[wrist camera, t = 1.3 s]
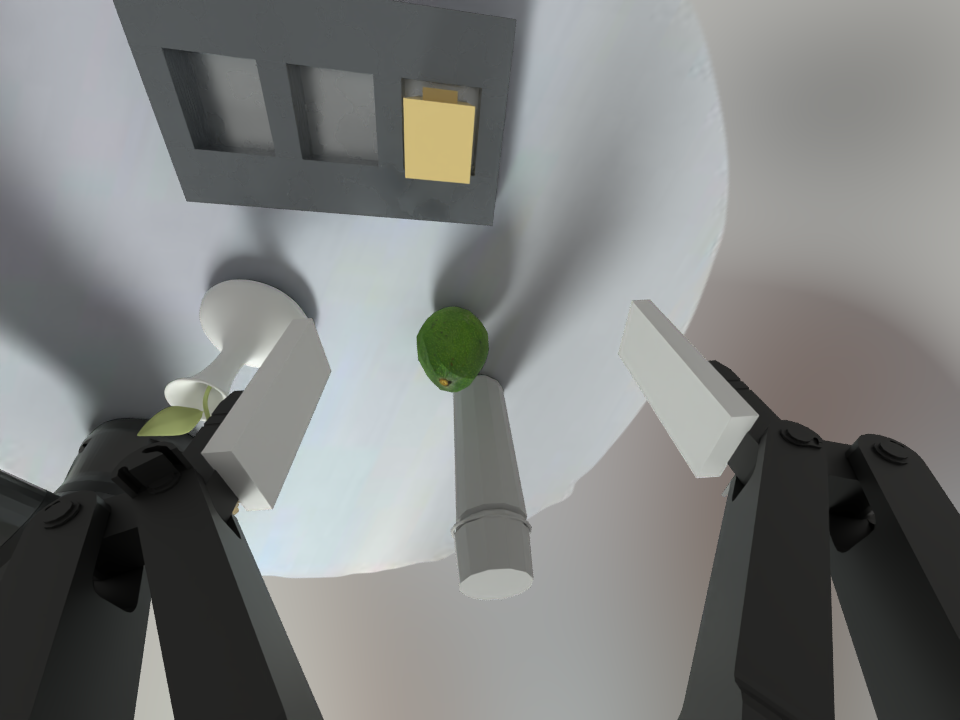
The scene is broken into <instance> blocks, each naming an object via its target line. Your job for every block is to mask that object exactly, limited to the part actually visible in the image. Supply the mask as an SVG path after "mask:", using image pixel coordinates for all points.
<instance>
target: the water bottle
mask: <svg viewBox="0 0 960 720" xmlns="http://www.w3.org/2000/svg"><path fill="white" fill-rule="evenodd" d="M453 404H454V448H455V492H456V524H454V526H453V528H452V529H451V534H452V537H453V538H454V539H455V542H454V543H455V552H456V561H457V570H458V579H459V588H460V592H461V593H463V594H464V595H466V596H467V597H469V598H474V599H480V600H497V599H505V598H509V597H512V596H515V595H519V594H521V593H522V592H524V591H526V590H527V589H529V588H530V587H531V585H532V581H533V569H532V559H531V547H530V536H529V535H530V534H531V528H532V527H531V525H530V524H529V523H528V521H526V518H527V514H526V509H525V504H524V498H523V493H522V488H521V482H520V477H519V472H518V467H517V461H516V456H515V451H514V445H513V440H512V435H511V430H510V424H509V419H508V414H507V409H506V403H505V398H504V393H503V389H502V387H501V386H500V384H499V383H498V381H497V380H495V379H492V378H490V377H488V376H486V375H477V376H476V378H475V379H474V381H473V382H472V383H471V385H470V386H468V387H467V388H465V389H463V390H461V391H459V392H453ZM455 529H456V533H454V531H455Z"/></svg>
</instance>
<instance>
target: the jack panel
mask: <svg viewBox="0 0 960 720" xmlns="http://www.w3.org/2000/svg"><path fill="white" fill-rule="evenodd" d="M113 2H114V5H115V8H116V10H117V13H118V16H119V18H120V21H121V24H122V27H123V29H124V32H125V35H126V37H127V40H128V43H129V46H130V48H131V51H132V54H133V57H134V59H135V62H136V65H137V67H138V70H139V73H140V76H141V78H142V81H143V84H144V86H145V89H146V92H147V95H148V97H149V100H150V103H151V106H152V108H153V111H154V114H155V116H156V119H157V122H158V125H159V127H160V130H161V133H162V135H163V138H164V141H165V144H166V146H167V149H168V152H169V154H170V157H171V160H172V163H173V165H174V168H175V171H176V174H177V176H178V179H179V182H180V184H181V187H182V190H183V193H184V195H185V198H186V201H189V202H201V203H214V204H226V205H239V206H251V207H264V208H276V209H289V210H301V211H314V212H326V213H339V214H351V215H364V216H376V217H389V218H401V219H414V220H426V221H439V222H451V223H464V224H476V225H489V226H492V224H493V216H494V207H495V199H496V190H497V182H498V173H499V164H500V156H501V147H502V139H503V130H504V122H505V113H506V104H507V96H508V87H509V79H510V70H511V62H512V53H513V44H514V36H515V27H516V19H510V18H503V17H497V16H490V15H484V14H477V13H470V12H464V11H457V10H451V9H444V8H437V7H431V6H424V5H417V4H411V3H404V2H398V1H391V0H113ZM423 87H428V88H436V89H444V90H452V91H458V98H457V101H463V102H467V103H469V104H471V105H473V106H475V117H474V130H473V144H472V157H471V171H470V184H465V183H455V182H444V181H433V180H423V179H412V178H405V148H404V106H403V98H407V97H414V96H422V97H423Z"/></svg>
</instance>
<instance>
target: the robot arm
mask: <svg viewBox="0 0 960 720" xmlns="http://www.w3.org/2000/svg"><path fill="white" fill-rule="evenodd" d="M618 355H619V356H620V358H621V360H622V361H623V363H624V364H625V366H626V367H627V369H628V371H629V372H630V374H631V375H632V377H633V379H634V380H635V382H636V383H637V385H638V386H639V388H640V390H641V391H642V393H643V394H644V396H645V398H646V399H647V401H648V402H649V404H650V405H651V407H652V409H653V410H654V412H655V413H656V415H657V417H658V418H659V419H660V421H661V423H662V424H663V426H664V428H665V429H666V431H667V432H668V434H669V435H670V437H671V438H672V440H673V442H674V443H675V445H676V447H677V448H678V450H679V451H680V453H681V455H682V456H683V458H684V459H685V461H686V463H687V464H688V466H689V467H690V469H691V470H692V472H693V474H694V475H695V477H696V478H704V477H718V476H721V474H722V472H723V471H724V469H725V468H726V466H727V465H729V466H730V468H731V469H732V470H733V472H734V473H735V476H734V477H733V478H732V480H731V482H730V483H729V484H728V486H727V487H726V489H725V490H724V492H723V493H722V496H724V497H726V495H727V494H728V497H727V502H726V507H725V511H724V516H723V521H722V526H721V530H720V535H719V540H718V545H717V549H716V554H715V559H714V563H713V568H712V573H711V577H710V582H709V587H708V591H707V596H706V601H705V606H704V611H703V615H702V620H701V624H700V629H699V634H698V639H697V643H696V648H695V653H694V657H693V662H692V667H691V672H690V676H689V681H688V686H687V690H686V695H685V700H684V704H683V708H682V711H681V713H680V716H679V718H678V720H835V714H834V678H833V642H832V607H831V577H832V580H833V583H834V586H835V589H836V592H837V596H838V599H839V602H840V605H841V608H842V611H843V614H844V617H845V620H846V623H847V626H848V629H849V632H850V635H851V638H852V641H853V644H854V648H855V650H856V654H857V657H858V660H859V663H860V666H861V669H862V672H863V675H864V678H865V681H866V684H867V687H868V690H869V693H870V696H871V699H872V702H873V706H874V709H875V712H876V715H877V718H878V720H960V514H959V513H958V512H957V510H956V508H955V507H954V505H953V504H952V502H951V501H950V499H949V498H948V496H947V495H946V493H945V492H944V490H943V489H942V487H941V486H940V484H939V483H938V481H937V480H936V478H935V477H934V475H933V474H932V473H931V471H930V470H929V468H928V466H926V464H925V462H924V461H923V460H922V459H921V457H920V456H919V455H918V454H917V453H916V452H914V451H913V450H911V449H910V448H908V447H907V446H906V445H904V444H902V443H900V442H897V441H896V440H893V439H891V438H887V437H884V436H881V435H875V434H865V435H861V436H860V437H859V438H858V439H857V440H856V441H855V442H854V443H853V444H852V445H848V444H841V443H836V442H830V441H824V440H822V438H821V437H820V436H819V435H818V434H817V433H815V432H814V431H812V430H810V429H809V428H808V427H805V426H803V425H801V424H799V423H795V422H792V421H788V420H781V419H780V418H779V417H778V416H776V414H774V412H772V410H771V409H770V408H769V407H768V406H767V405H766V404H765V403H764V402H763V401H762V400H761V399H759V397H758V396H757V395H756V394H754V392H753V391H752V390H749V387H748V386H747V385H746V384H744V382H742V381H740V378H739V377H737V375H736V374H735V373H734V372H732V370H731V369H729V368H728V367H726V366H724V365H722V364H720V363H719V362H717V361H716V360H714V361H707V360H706V359H705V357H704V356H702V354H701V353H700V352H699V351H698V350H697V349H696V348H695V347H694V346H693V345H692V344H691V343H690V342H689V341H688V339H687V338H686V337H685V336H684V335H683V334H682V333H681V332H680V331H679V330H678V329H677V328H676V327H675V326H674V325H673V324H672V323H671V321H670V320H669V319H668V318H667V317H666V316H665V315H664V314H663V313H662V312H661V311H660V310H659V309H658V308H657V307H656V306H655V305H654V303H653V302H652V301H651V300H633V301H632V302H631V305H630V309H629V313H628V317H627V321H626V325H625V328H624V332H623V336H622V340H621V344H620V348H619V352H618ZM330 373H331V369H330V366H329V363H328V360H327V358H326V355H325V352H324V349H323V347H322V344H321V341H320V338H319V336H318V333H317V330H316V327H315V325H314V322H313V319H312V318H307V319H293V320H292V321H291V323H290V324H289V326H288V327H287V329H286V330H285V332H284V333H283V334H282V336H281V337H280V339H279V340H278V342H277V343H276V345H275V346H274V348H273V349H272V350H271V352H270V353H269V355H268V356H267V358H266V359H265V361H264V362H263V364H262V365H261V366H260V368H259V369H258V371H257V372H256V374H255V375H254V377H253V378H252V380H251V381H250V382H249V384H248V385H247V387H246V388H245V390H243V391H234V392H232V393H231V394H230V395H229V396H227V397H226V398H225V399H224V400H222V401H221V402H220V403H219V404H218V406H217V407H216V409H215V410H214V411H213V413H212V414H211V415H212V416H211V417H209V418H208V419H207V421H206V422H205V423H204V427H201V429H200V430H199V432H198V433H197V434H196V436H195V437H194V438H193V437H191V436H190V435H188V434H182V435H173V436H137V434H138V433H139V431H140V430H141V429H142V427H143V426H144V425H145V424H146V423H147V422H148V421H149V420H142V419H117V420H112V421H109V422H106V423H103V424H101V425H100V426H98V427H97V428H96V429H95V430H94V431H93V432H92V433H91V434H90V435H89V436H88V437H87V438H86V439H85V440H84V441H83V443H82V444H81V446H80V449H79V454H78V455H77V457H76V458H75V460H74V462H73V464H72V466H71V468H70V470H69V472H68V474H67V476H66V478H65V481H64V482H63V484H62V485H61V486H60V487H59V488H58V489H57V490H56V491H55V492H54V493H52V492H49V491H47V490H45V489H43V488H40V487H38V486H36V485H34V484H32V483H29V482H27V481H25V480H23V479H21V478H18V477H16V476H14V475H12V474H10V473H7V472H5V471H3V470H1V469H0V720H134V714H135V707H136V700H137V692H138V686H139V679H140V672H141V665H142V658H143V651H144V644H145V637H146V630H147V623H148V616H149V609H150V602H151V599H152V604H153V609H154V614H155V620H156V625H157V630H158V635H159V641H160V646H161V651H162V657H163V662H164V667H165V672H166V678H167V683H168V688H169V693H170V698H171V704H172V709H173V714H174V720H324V719H323V717H322V715H321V712H320V710H319V708H318V706H317V703H316V701H315V698H314V696H313V694H312V691H311V689H310V687H309V684H308V682H307V680H306V678H305V675H304V673H303V671H302V668H301V666H300V664H299V661H298V659H297V657H296V654H295V652H294V650H293V648H292V645H291V643H290V641H289V638H288V636H287V634H286V631H285V629H284V627H283V624H282V622H281V620H280V617H279V615H278V613H277V610H276V608H275V606H274V604H273V601H272V599H271V597H270V594H269V592H268V590H267V587H266V585H265V583H264V580H263V578H262V576H261V573H260V571H259V569H258V567H257V564H256V562H255V560H254V557H253V555H252V553H251V550H250V548H249V546H248V543H247V541H246V539H245V536H244V534H243V532H242V530H241V527H240V525H239V523H238V520H237V518H236V517H235V516H234V515H233V513H232V512H233V510H234V508H235V506H236V504H237V502H238V501H239V502H240V503H241V505H242V506H243V507H244V508H245V510H246V511H257V510H271V509H273V507H274V505H275V503H276V500H277V498H278V496H279V493H280V491H281V489H282V486H283V484H284V482H285V479H286V477H287V475H288V472H289V470H290V467H291V465H292V463H293V460H294V458H295V456H296V453H297V451H298V449H299V446H300V444H301V442H302V439H303V437H304V434H305V432H306V430H307V427H308V425H309V423H310V420H311V418H312V416H313V413H314V411H315V409H316V406H317V404H318V401H319V399H320V397H321V394H322V392H323V390H324V387H325V385H326V383H327V380H328V378H329V376H330ZM874 515H875V516H874Z"/></svg>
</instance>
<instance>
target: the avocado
mask: <svg viewBox="0 0 960 720" xmlns="http://www.w3.org/2000/svg"><path fill="white" fill-rule="evenodd" d="M417 351H418V360H419V362H420V363H421V365H422V367H423V369H424V371H425V373H426V375H427V376H428V377H429V379H430V380H431V381H432V382H433V383H434V384H435V385H436V386H437V387H438V388H439V389H440V390H444V391H448V392H459V391H461V390H463V389H465V388H467V387H468V386H470V385H471V383H472V382H473V381H474V379H475V378H476V376H477V375H478V373H479V372H480V370H481V369H482V367H483V365H484V363H485V361H486V359H487V355H488V351H489V343H488V333H487V331H486V329H485V327H484V326H483V324H482V323H481V322H480V320H479V319H478V318H477V317H476V316H475V315H474V314H473V313H471V312H470V311H469V310H466V309H463V308H460V307H446V308H443V309H441V310H438V311H436V312H434V313H433V314H432V315H431V316H430V317H429V318H428V319H427V320H426V321H425V323H424V324H423V326H422V327H421V329H420V331H419V333H418V335H417Z"/></svg>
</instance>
